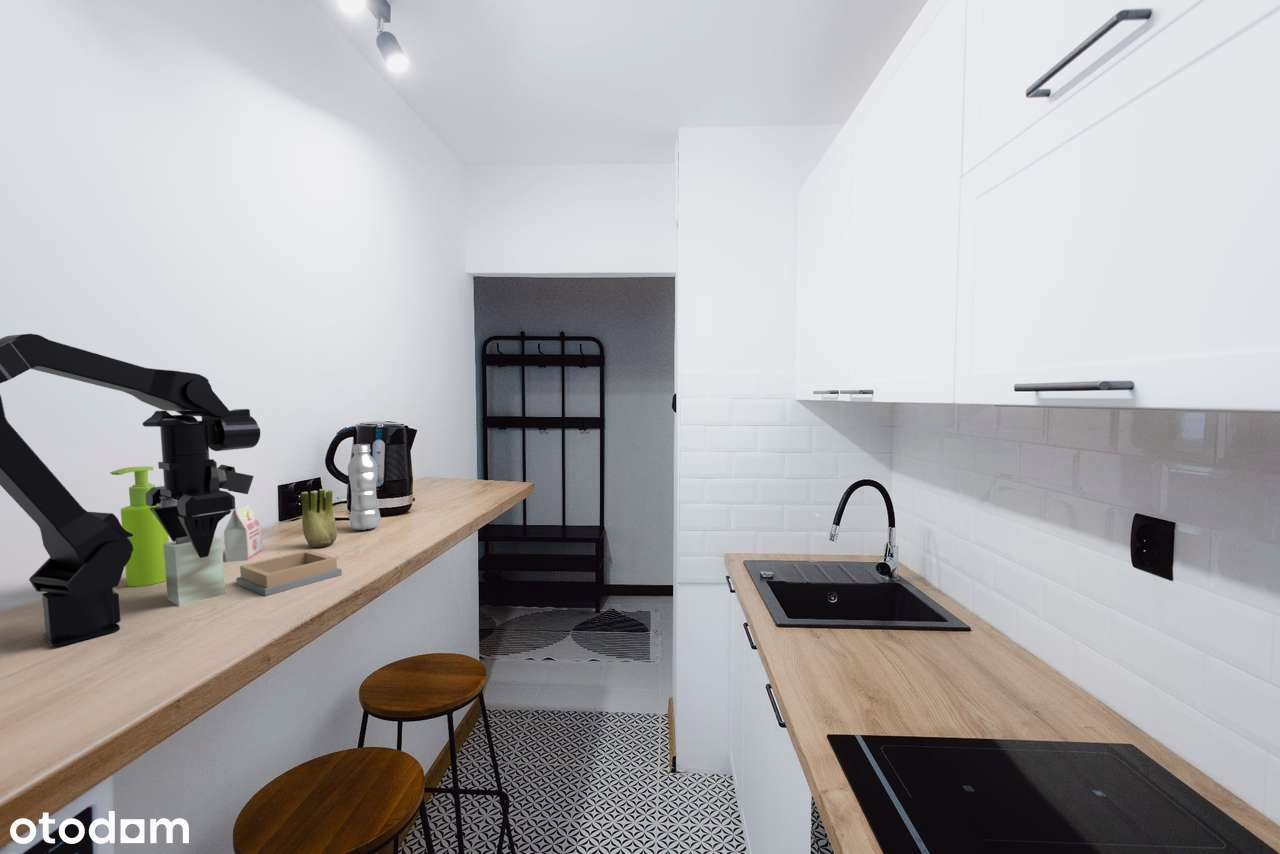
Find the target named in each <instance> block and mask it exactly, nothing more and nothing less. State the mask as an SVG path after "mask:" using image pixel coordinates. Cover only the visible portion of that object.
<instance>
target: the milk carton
mask: <svg viewBox="0 0 1280 854" xmlns="http://www.w3.org/2000/svg"><path fill="white" fill-rule="evenodd" d="M223 536H224V537H223V539H224V552H225V562H226V563H230V562H243V561H249V560H250V559H252V558H253V557H254V556H257V555H258V554H259V553H261V552H262V551H263V547H262V546H263V545H262V534H261V522H260V520H259V519H258V517H257V516H256V514H255V512H254V511H253V509H252V506H251V503H246V504H243V505H241V506H239V507H235V509H233V510H231V516H230V518H229V520H228V522H227V524H226V527H225V529H224V530H223Z"/></svg>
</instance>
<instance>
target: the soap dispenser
mask: <svg viewBox="0 0 1280 854" xmlns="http://www.w3.org/2000/svg"><path fill="white" fill-rule="evenodd" d="M148 471H154V466H131V467H130V466H129V467H124V468H119V469H115V470H113V471H111V472H109V473H110V474H111V475H113V476H114V475H115V476H116V475H117V476H118V475H124V474H128V473H134V484H133V485H131V486H130V487H128V491H129V492H128V494H129V504H130V505H129V506H125V507H122V508H120V517H121V518H120V519H121V526H122V527H123V528H124V529H125V530H126V531H127V532H129V533H131V534H133V536H132V537H127V538H128V539H129V540H130V541H131V543H132V545H133V549H134V550H133V552H132V554H131V558H130V560H129V561H128V563H127V564H126V565H125V567H124V570H125V578H126V579H125V580H126V586H127V587H132V586H136V587H144V585H146V586H149V585H155V584H159V583H164V582H166V570H165V557H164V544H163V543H168V542H170V541H169V535H168V534H167V532H166V531H165V529H164V528H163V526H162V525H161V523H160V522H159V521H158V519H157V518H156V516H155V515H154V514H153V512H152V511H151V510H150V508H151V507H156V506H148V505H146V493H147V492H148V491H149V490H150V489H151V488H152V487H156V484H152V483H151V482H150V483H149V475H148Z"/></svg>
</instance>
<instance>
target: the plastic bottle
mask: <svg viewBox="0 0 1280 854" xmlns="http://www.w3.org/2000/svg"><path fill="white" fill-rule="evenodd" d="M370 453H371V444H369V443H359V444H352V454H353V456H352V458H351V459H350V461H349V462H348V464H347V474H348V480H349V484H350V491H351V492H350V494H351V495H350V496H351V503H350V504H351V505H350V513H349V523H350V527H351V528H352V529H353V530H357V531H367V530H366V529H368V530H371V529H374V528H377V527H378V526H379V524H380V522H381V514H380V513H381V512H380V509H379V505H378V497H377V480H378V479H377V477H378V470H379V468H378V467H379V466H378V464H377V461H376V460H375V458H374V457H373V456H372V455H371V454H370Z"/></svg>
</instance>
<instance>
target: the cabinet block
mask: <svg viewBox="0 0 1280 854" xmlns="http://www.w3.org/2000/svg"><path fill="white" fill-rule="evenodd" d="M163 544H164V557H165V570H166V581H165V582H166V594H167V600H168V601H169V600H170V602H171V603H173V604H175V605H176V606H179V607H180V606H184V605H189V604H192V603H196V602H200V601H204V600H207V599H210V598H214V597H215V598H216V597H219V596H222V595H223V596H224V595H226V586H225V585H226V583H225V571H224V570H225V568H224V556H223V555H224V554H223V553H224V552H223V540H222V538H221V537H217V536H215V535H214V537H213V541H212V545H211V548H210V552H209V555H208V556H207V557H203V558H200V557H199V556H198V554H197V553H196V551H195V549H194V547H193V545H192V543H191V541H190V539H189V537H188V536H186V537H181V538H176V541H169V542H168V543H163Z"/></svg>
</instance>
